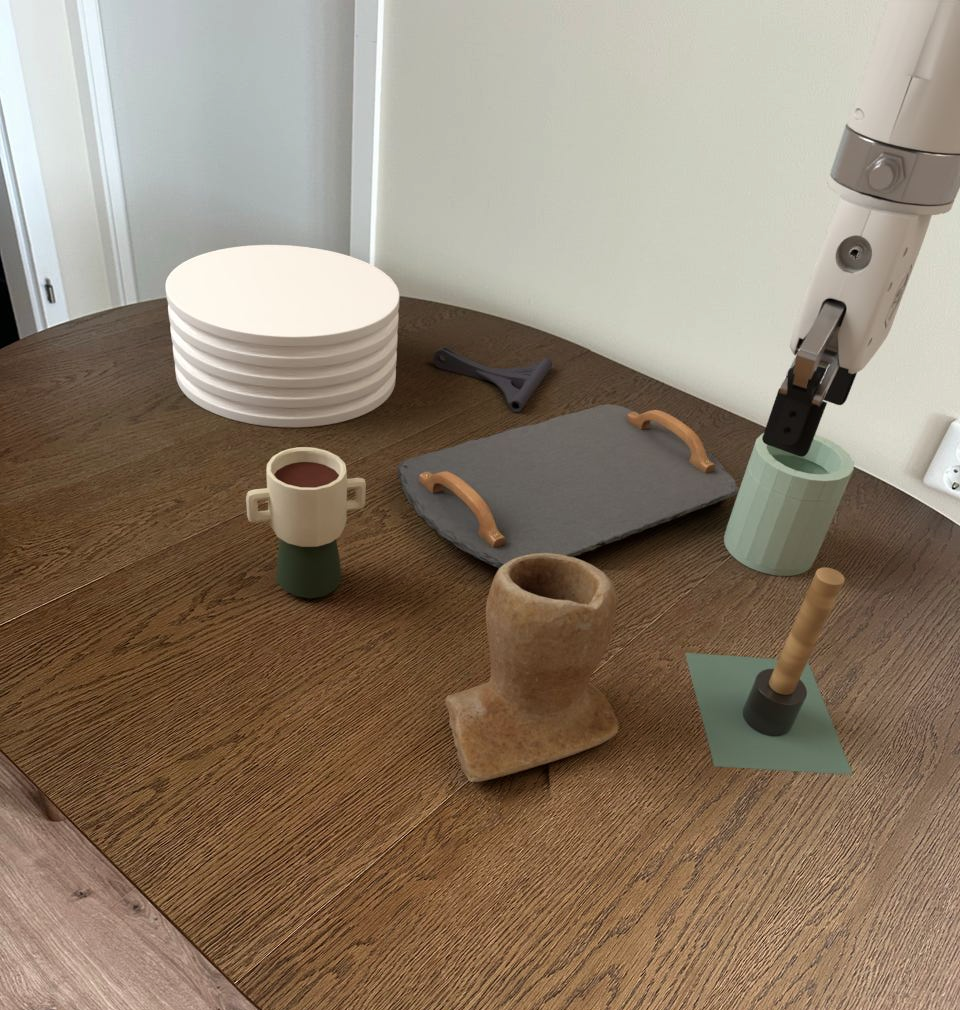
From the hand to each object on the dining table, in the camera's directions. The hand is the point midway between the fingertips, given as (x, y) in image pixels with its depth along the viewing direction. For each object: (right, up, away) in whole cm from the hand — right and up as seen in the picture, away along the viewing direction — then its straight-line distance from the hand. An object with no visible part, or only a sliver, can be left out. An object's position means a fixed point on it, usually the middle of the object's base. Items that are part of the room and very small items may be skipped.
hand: (804, 422), depth 68 cm
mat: (+2, -23, +16) cm, 28 cm away
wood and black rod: (+2, -23, +15) cm, 27 cm away
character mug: (-40, -10, +23) cm, 48 cm away
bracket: (-23, +20, +60) cm, 67 cm away
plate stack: (-49, +19, +55) cm, 76 cm away
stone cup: (-20, -23, +12) cm, 33 cm away
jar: (+8, -6, +36) cm, 37 cm away
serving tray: (-14, 0, +39) cm, 42 cm away
